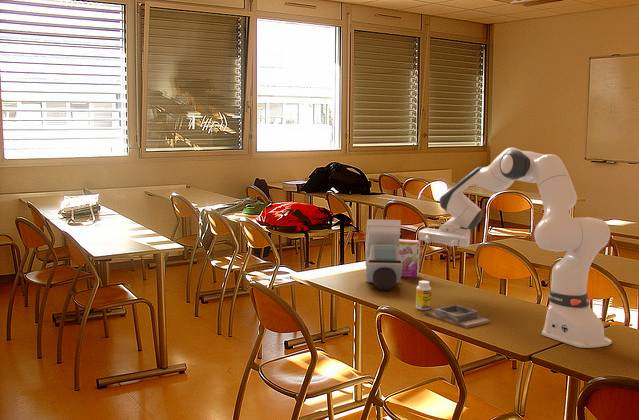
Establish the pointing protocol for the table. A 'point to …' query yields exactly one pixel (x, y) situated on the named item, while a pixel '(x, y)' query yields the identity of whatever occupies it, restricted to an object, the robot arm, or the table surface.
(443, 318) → the cup holder board
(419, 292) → the supplement bottle
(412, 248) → the candy bar box
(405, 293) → the table surface
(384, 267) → the robot
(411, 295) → the table surface
